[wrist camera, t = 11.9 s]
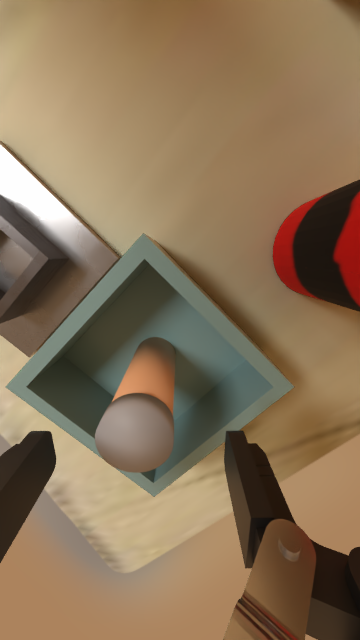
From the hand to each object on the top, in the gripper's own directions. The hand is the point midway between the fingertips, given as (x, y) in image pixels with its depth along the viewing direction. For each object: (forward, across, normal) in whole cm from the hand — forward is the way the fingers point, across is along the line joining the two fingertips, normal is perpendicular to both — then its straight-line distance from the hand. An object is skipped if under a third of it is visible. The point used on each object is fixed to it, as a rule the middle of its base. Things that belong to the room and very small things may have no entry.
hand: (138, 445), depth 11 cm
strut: (+10, 0, 0) cm, 11 cm away
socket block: (+11, +11, -8) cm, 18 cm away
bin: (+11, 0, 0) cm, 11 cm away
